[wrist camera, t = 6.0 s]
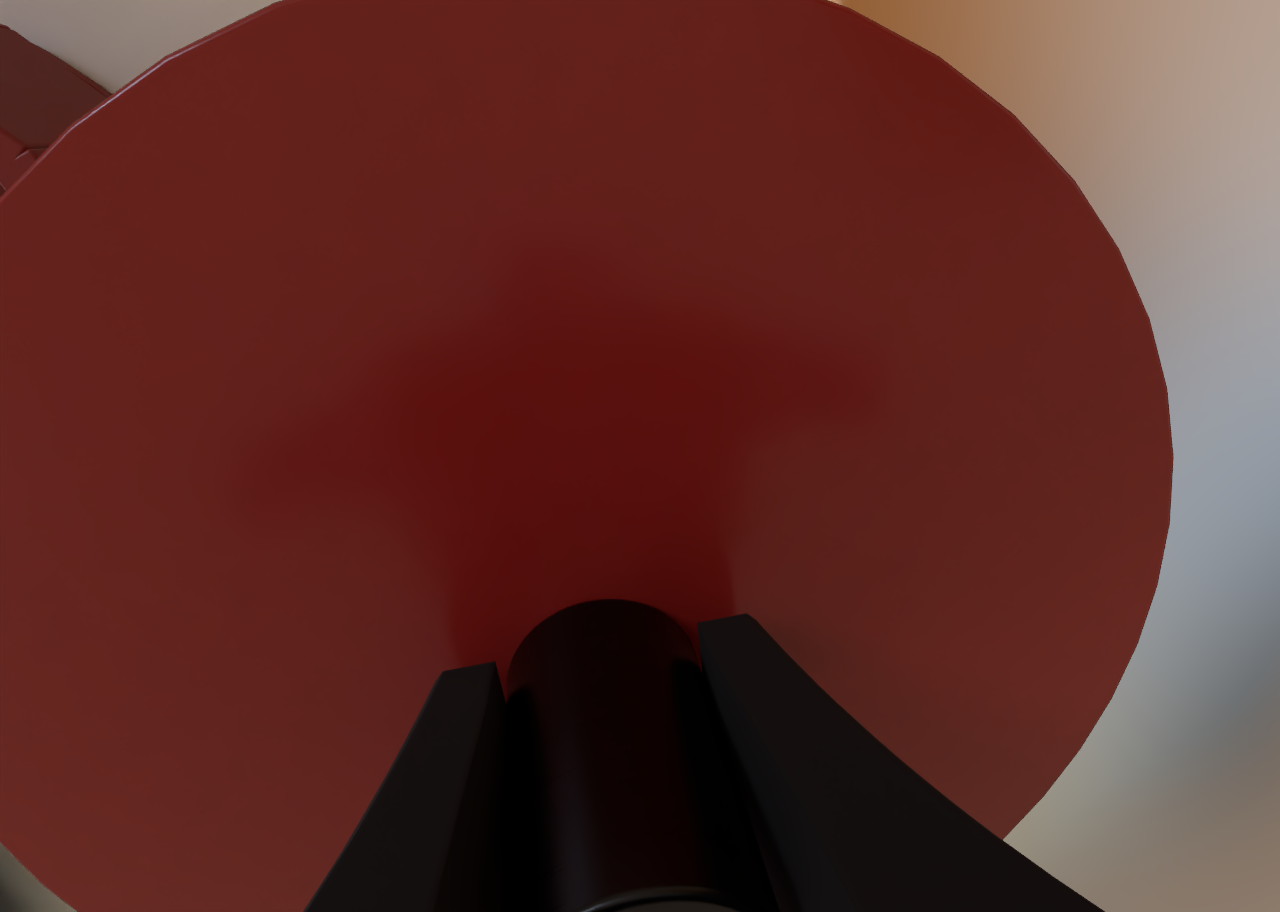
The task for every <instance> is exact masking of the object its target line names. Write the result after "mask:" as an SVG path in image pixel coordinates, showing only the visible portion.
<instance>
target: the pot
mask: <svg viewBox="0 0 1280 912" xmlns="http://www.w3.org/2000/svg"><path fill="white" fill-rule="evenodd" d="M111 95H112V94H111V93H109V92H108V91H107V90H106V89H104V88H103V87H102V86H100V85H99V84H97V83H96V82H94V81H93V80H91V79H89V78H88V77H86V76H85V75H83V74H82V73H80V72H79V71H77V70H76V69H74V68H73V67H71V66H70V65H68V64H67V63H65V62H63V61H62V60H60V59H59V58H57V57H56V56H54V55H53V54H51V53H50V52H48V51H46V50H44V49H42V48H40V47H38V46H36V45H34V44H32V43H30V42H29V41H28V40H26V39H25V38H24V37H22V36H21V35H19V34H18V33H17V32H15V31H13V30H10V28H9V27H7V26H5V25H2V24H0V196H1V195H2V194H3V193H4V192H5V191H6V190H7V189H8V188H9V187H10V186H11V185H12V184H13V183H14V182H15V181H16V180H17V179H18V178H19V177H20V176H21V175H22V174H23V173H24V172H25V171H26V170H27V169H28V168H29V167H30V166H31V165H32V163H33V162H34V161H35V160H36V159H37V158H38V157H39V156H40V155H41V154H42V153H43V152H44V151H45V150H46V149H47V148H48V147H49V146H50V145H51V144H52V143H53V142H54V141H55V140H56V139H57V138H58V137H59V136H60V135H61V134H62V133H63V132H64V131H65V130H66V129H67V128H68V127H69V126H70V125H71V124H72V123H73V122H75V121H76V120H77V119H79V118H80V117H82V116H83V115H84V114H86V113H87V112H89V111H90V110H91V109H93V108H94V107H96V106H97V105H98V104H100V103H101V102H102V101H104V100H105V99H107V98H108V97H109V96H111Z"/></svg>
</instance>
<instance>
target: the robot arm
mask: <svg viewBox="0 0 1280 912" xmlns="http://www.w3.org/2000/svg"><path fill="white" fill-rule="evenodd" d="M697 627H698V636H699V646H700V655H701V665H702V674H703V678H704V681H705V684H706V687H707V690H708V693H709V696H710V699H711V702H712V705H713V708H714V711H715V714H716V718H717V721H718V724H719V727H720V730H721V733H722V736H723V739H724V742H725V745H726V748H727V751H728V754H729V757H730V760H731V763H732V766H733V769H734V773H735V776H736V779H737V782H738V785H739V788H740V791H741V794H742V797H743V800H744V803H745V806H746V809H747V812H748V815H749V818H750V821H751V825H752V828H753V831H754V834H755V837H756V840H757V843H758V846H759V849H760V852H761V855H762V858H763V861H764V864H765V867H766V870H767V873H768V876H769V880H770V883H771V886H772V889H773V892H774V895H775V898H776V901H777V904H778V907H779V910H780V912H1105V911H1103V910H1102V909H1100V908H1099V907H1097V906H1096V905H1094V904H1093V903H1091V902H1090V901H1088V900H1087V899H1085V898H1084V897H1082V896H1081V895H1079V894H1078V893H1077V892H1075V891H1074V890H1072V889H1071V888H1069V887H1068V886H1066V885H1065V884H1063V883H1062V882H1060V881H1059V880H1057V879H1056V878H1054V877H1053V876H1051V875H1050V874H1048V873H1047V872H1046V871H1045V870H1043V869H1042V868H1040V867H1039V866H1038V865H1036V864H1035V863H1033V862H1032V861H1031V860H1029V859H1028V858H1026V857H1025V856H1024V855H1022V854H1021V853H1019V852H1018V851H1017V850H1015V849H1014V848H1013V847H1011V846H1009V845H1008V844H1007V843H1006V842H1004V841H1003V840H1001V839H1000V838H999V837H997V836H996V835H995V834H993V833H992V832H991V831H989V830H988V829H987V828H986V827H984V826H983V825H982V824H980V823H979V822H978V821H976V820H975V819H974V818H972V817H971V816H970V815H969V814H967V813H966V812H965V811H963V810H962V809H961V808H960V807H958V806H957V805H956V804H954V803H953V802H952V801H951V800H949V799H948V798H947V797H946V796H944V795H943V794H942V793H941V792H939V791H938V790H937V789H936V788H935V787H933V786H932V785H931V784H930V783H928V782H927V781H926V780H925V779H924V778H922V777H921V776H920V775H919V774H917V773H916V772H915V771H914V770H913V769H911V768H910V767H909V766H908V765H907V764H905V763H904V762H903V761H902V760H901V759H900V758H898V757H897V756H896V755H895V754H894V753H893V752H891V751H890V750H889V749H888V748H887V747H886V746H884V745H883V744H882V743H881V742H880V741H879V740H878V739H877V738H875V737H874V736H873V735H872V734H871V733H870V732H869V731H868V730H867V729H866V728H864V727H863V726H862V725H861V724H860V723H859V722H858V721H857V720H856V719H854V718H853V717H852V716H851V715H850V714H849V713H848V712H847V711H846V710H845V709H843V708H842V707H841V706H840V705H839V704H838V703H837V702H836V701H835V700H834V699H833V698H832V697H831V696H830V695H829V694H827V693H826V692H825V691H824V690H823V689H822V688H821V687H820V686H819V685H818V684H817V683H816V682H815V681H814V680H813V679H812V678H811V677H810V676H809V675H808V674H807V673H806V672H805V671H804V670H803V669H802V668H801V667H800V666H799V665H798V664H797V663H796V662H795V661H794V660H793V659H792V658H791V657H790V656H789V655H788V654H787V653H786V652H785V651H784V650H783V649H782V647H781V646H780V645H779V644H778V643H777V642H776V641H775V640H774V639H773V638H772V637H771V636H770V635H769V634H768V632H767V631H766V630H765V629H764V628H763V627H762V626H761V625H760V624H759V622H758V621H757V620H756V619H754V618H753V617H751V616H750V615H749V614H747V613H745V614H740V615H735V616H730V617H724V618H719V619H714V620H709V621H703V622H698V623H697ZM505 738H506V701H505V697H504V693H503V689H502V685H501V681H500V677H499V674H498V670H497V666H496V662H495V661H494V662H488V663H483V664H478V665H473V666H467V667H462V668H457V669H452V670H446V671H443V672H442V673H441V674H440V676H439V677H438V678H437V680H436V681H435V683H434V685H433V687H432V689H431V691H430V693H429V695H428V697H427V699H426V701H425V703H424V705H423V707H422V709H421V711H420V713H419V715H418V717H417V719H416V721H415V722H414V724H413V726H412V728H411V730H410V732H409V734H408V736H407V738H406V740H405V742H404V743H403V745H402V747H401V749H400V751H399V753H398V754H397V756H396V758H395V760H394V762H393V764H392V766H391V767H390V769H389V771H388V773H387V775H386V776H385V778H384V780H383V782H382V783H381V785H380V787H379V789H378V790H377V792H376V794H375V795H374V797H373V799H372V801H371V802H370V804H369V806H368V808H367V809H366V811H365V813H364V814H363V816H362V818H361V820H360V821H359V823H358V825H357V827H356V828H355V830H354V832H353V833H352V835H351V837H350V838H349V840H348V842H347V843H346V845H345V847H344V848H343V850H342V852H341V853H340V855H339V857H338V858H337V860H336V861H335V863H334V864H333V866H332V867H331V869H330V871H329V872H328V874H327V875H326V877H325V878H324V880H323V881H322V883H321V885H320V886H319V888H318V889H317V891H316V892H315V894H314V896H313V897H312V899H311V900H310V902H309V903H308V905H307V906H306V908H305V910H304V911H303V912H501V875H502V839H503V802H504V774H505Z"/></svg>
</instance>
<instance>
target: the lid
mask: <svg viewBox="0 0 1280 912" xmlns="http://www.w3.org/2000/svg"><path fill="white" fill-rule="evenodd" d="M1172 473H1173V448H1172V437H1171V426H1170V415H1169V404H1168V393H1167V386H1166V382H1165V378H1164V375H1163V371H1162V367H1161V363H1160V359H1159V355H1158V351H1157V347H1156V343H1155V339H1154V335H1153V331H1152V327H1151V323H1150V319H1149V317H1148V315H1147V313H1146V310H1145V308H1144V305H1143V303H1142V301H1141V298H1140V296H1139V294H1138V291H1137V289H1136V287H1135V285H1134V282H1133V280H1132V278H1131V275H1130V273H1129V271H1128V269H1127V266H1126V264H1125V262H1124V259H1123V257H1122V255H1121V253H1120V250H1119V248H1118V247H1117V245H1116V244H1115V242H1114V240H1113V239H1112V237H1111V236H1110V234H1109V233H1108V231H1107V230H1106V228H1105V227H1104V225H1103V224H1102V222H1101V221H1100V219H1099V217H1098V216H1097V215H1096V213H1095V211H1094V210H1093V208H1092V207H1091V205H1090V204H1089V202H1088V200H1087V199H1086V197H1085V196H1084V194H1083V193H1082V191H1081V190H1080V188H1079V187H1078V185H1077V184H1076V182H1075V181H1074V180H1073V178H1072V177H1071V176H1070V175H1069V174H1068V173H1067V172H1066V171H1065V170H1064V168H1063V167H1062V166H1061V165H1060V164H1059V163H1058V162H1057V161H1056V160H1055V159H1054V158H1053V157H1052V155H1050V153H1049V152H1048V151H1047V150H1046V149H1045V148H1044V147H1043V146H1042V145H1041V144H1040V142H1038V140H1037V139H1036V138H1035V137H1034V136H1033V135H1032V134H1031V133H1030V132H1029V130H1028V129H1027V128H1026V127H1025V126H1024V125H1023V124H1022V123H1021V122H1020V121H1019V120H1018V118H1016V116H1015V115H1014V114H1012V113H1011V112H1010V111H1009V110H1007V109H1006V108H1005V107H1004V106H1002V105H1001V104H1000V103H998V102H997V101H996V100H995V99H993V98H992V97H990V96H989V95H988V94H987V93H986V92H984V91H983V90H982V89H980V88H979V87H978V86H976V85H975V84H974V83H973V82H971V81H970V80H969V79H967V78H966V77H965V76H963V75H962V74H961V73H960V72H958V71H957V70H956V69H955V68H953V67H952V66H951V65H949V64H948V63H947V62H945V61H944V60H943V59H942V58H940V57H939V56H937V55H935V54H933V53H931V52H930V51H928V50H926V49H924V48H922V47H921V46H919V45H917V44H915V43H913V42H911V41H910V40H908V39H906V38H904V37H902V36H900V35H898V34H897V33H895V32H893V31H891V30H889V29H887V28H885V27H884V26H882V25H880V24H878V23H876V22H874V21H872V20H870V19H869V18H867V17H865V16H863V15H861V14H859V13H858V12H856V11H854V10H852V9H850V8H848V7H845V6H842V5H839V4H836V3H833V2H830V1H828V0H282V1H278V2H275V3H273V4H271V5H269V6H267V7H265V8H263V9H261V10H258V11H256V12H254V13H252V14H250V15H248V16H246V17H244V18H242V19H240V20H238V21H236V22H234V23H232V24H230V25H228V26H226V27H224V28H222V29H220V30H218V31H216V32H214V33H212V34H210V35H208V36H206V37H204V38H201V39H199V40H197V41H195V42H193V43H191V44H189V45H187V46H185V47H183V48H181V49H179V50H177V51H175V52H173V53H171V54H169V55H167V56H165V57H164V58H162V59H161V60H160V61H158V62H157V63H155V64H154V65H153V66H151V67H150V68H148V69H147V70H146V71H144V72H143V73H141V74H140V75H139V76H137V77H136V78H134V79H133V80H132V81H130V82H129V83H128V84H126V85H125V86H123V87H122V88H121V89H119V90H118V91H116V92H115V93H114V94H112V95H111V96H109V97H108V98H107V99H105V100H104V101H102V102H101V103H100V104H98V105H97V106H96V107H94V108H93V109H91V110H90V111H89V112H87V113H86V114H84V115H83V116H82V117H80V118H79V119H77V120H76V121H75V122H73V123H72V124H71V125H70V126H69V127H68V128H67V129H66V130H65V131H64V132H63V133H62V134H61V135H60V136H59V137H58V138H57V139H56V140H55V141H54V142H53V143H52V144H51V145H50V146H49V147H48V148H47V149H46V150H45V151H44V152H43V153H42V154H41V155H40V156H39V157H38V158H37V159H36V160H35V161H34V162H33V163H32V165H31V166H30V167H29V168H28V169H27V170H26V171H25V172H24V173H23V174H22V175H21V176H20V177H19V178H18V179H17V180H16V181H15V182H14V183H13V184H12V185H11V186H10V187H9V188H8V189H7V190H6V191H5V192H4V193H3V194H2V195H1V196H0V844H1V845H3V846H4V847H5V848H6V849H7V850H8V851H9V852H10V853H11V854H12V855H13V856H14V857H15V858H16V859H17V860H18V861H19V862H20V863H21V864H22V865H23V866H24V867H25V868H26V869H27V870H28V871H29V872H30V873H31V874H32V875H33V876H34V877H35V878H36V879H37V880H38V881H39V882H40V883H41V884H42V885H43V886H44V887H46V888H47V889H48V890H50V891H51V892H52V893H54V894H55V895H56V896H57V897H59V898H60V899H61V900H63V901H64V902H65V903H67V904H68V905H69V906H71V907H72V908H73V909H75V910H76V911H77V912H303V911H304V910H305V908H306V906H307V905H308V903H309V902H310V900H311V899H312V897H313V896H314V894H315V892H316V891H317V889H318V888H319V886H320V885H321V883H322V881H323V880H324V878H325V877H326V875H327V874H328V872H329V871H330V869H331V867H332V866H333V864H334V863H335V861H336V860H337V858H338V857H339V855H340V853H341V852H342V850H343V848H344V847H345V845H346V843H347V842H348V840H349V838H350V837H351V835H352V833H353V832H354V830H355V828H356V827H357V825H358V823H359V821H360V820H361V818H362V816H363V814H364V813H365V811H366V809H367V808H368V806H369V804H370V802H371V801H372V799H373V797H374V795H375V794H376V792H377V790H378V789H379V787H380V785H381V783H382V782H383V780H384V778H385V776H386V775H387V773H388V771H389V769H390V767H391V766H392V764H393V762H394V760H395V758H396V756H397V754H398V753H399V751H400V749H401V747H402V745H403V743H404V742H405V740H406V738H407V736H408V734H409V732H410V730H411V728H412V726H413V724H414V722H415V721H416V719H417V717H418V715H419V713H420V711H421V709H422V707H423V705H424V703H425V701H426V699H427V697H428V695H429V693H430V691H431V689H432V687H433V685H434V683H435V681H436V680H437V678H438V677H439V676H440V674H441V673H442V672H443V671H446V670H452V669H457V668H462V667H467V666H473V665H478V664H483V663H488V662H494V661H495V662H496V666H497V670H498V674H499V677H500V681H501V685H502V689H503V693H504V697H505V701H506V738H505V774H504V802H503V839H502V875H501V912H780V910H779V907H778V904H777V901H776V898H775V895H774V892H773V889H772V886H771V883H770V880H769V876H768V873H767V870H766V867H765V864H764V861H763V858H762V855H761V852H760V849H759V846H758V843H757V840H756V837H755V834H754V831H753V828H752V825H751V821H750V818H749V815H748V812H747V809H746V806H745V803H744V800H743V797H742V794H741V791H740V788H739V785H738V782H737V779H736V776H735V773H734V769H733V766H732V763H731V760H730V757H729V754H728V751H727V748H726V745H725V742H724V739H723V736H722V733H721V730H720V727H719V724H718V721H717V718H716V714H715V711H714V708H713V705H712V702H711V699H710V696H709V693H708V690H707V687H706V684H705V681H704V678H703V674H702V665H701V655H700V646H699V636H698V627H697V623H698V622H703V621H709V620H714V619H719V618H724V617H730V616H735V615H740V614H745V613H747V614H749V615H750V616H751V617H753V618H754V619H756V620H757V621H758V622H759V624H760V625H761V626H762V627H763V628H764V629H765V630H766V631H767V632H768V634H769V635H770V636H771V637H772V638H773V639H774V640H775V641H776V642H777V643H778V644H779V645H780V646H781V647H782V649H783V650H784V651H785V652H786V653H787V654H788V655H789V656H790V657H791V658H792V659H793V660H794V661H795V662H796V663H797V664H798V665H799V666H800V667H801V668H802V669H803V670H804V671H805V672H806V673H807V674H808V675H809V676H810V677H811V678H812V679H813V680H814V681H815V682H816V683H817V684H818V685H819V686H820V687H821V688H822V689H823V690H824V691H825V692H826V693H827V694H829V695H830V696H831V697H832V698H833V699H834V700H835V701H836V702H837V703H838V704H839V705H840V706H841V707H842V708H843V709H845V710H846V711H847V712H848V713H849V714H850V715H851V716H852V717H853V718H854V719H856V720H857V721H858V722H859V723H860V724H861V725H862V726H863V727H864V728H866V729H867V730H868V731H869V732H870V733H871V734H872V735H873V736H874V737H875V738H877V739H878V740H879V741H880V742H881V743H882V744H883V745H884V746H886V747H887V748H888V749H889V750H890V751H891V752H893V753H894V754H895V755H896V756H897V757H898V758H900V759H901V760H902V761H903V762H904V763H905V764H907V765H908V766H909V767H910V768H911V769H913V770H914V771H915V772H916V773H917V774H919V775H920V776H921V777H922V778H924V779H925V780H926V781H927V782H928V783H930V784H931V785H932V786H933V787H935V788H936V789H937V790H938V791H939V792H941V793H942V794H943V795H944V796H946V797H947V798H948V799H949V800H951V801H952V802H953V803H954V804H956V805H957V806H958V807H960V808H961V809H962V810H963V811H965V812H966V813H967V814H969V815H970V816H971V817H972V818H974V819H975V820H976V821H978V822H979V823H980V824H982V825H983V826H984V827H986V828H987V829H988V830H989V831H991V832H992V833H993V834H995V835H996V836H997V837H999V838H1000V839H1001V840H1003V839H1004V838H1005V837H1006V836H1007V835H1008V834H1009V833H1010V831H1011V830H1012V829H1013V828H1014V827H1015V826H1016V825H1017V824H1018V823H1019V822H1020V821H1021V820H1022V819H1023V818H1024V817H1025V815H1026V814H1027V813H1028V812H1029V811H1030V810H1031V809H1032V808H1033V807H1034V806H1035V805H1036V804H1037V803H1038V802H1039V801H1040V800H1041V799H1042V798H1043V797H1044V795H1045V794H1046V793H1047V791H1048V790H1049V789H1050V787H1051V786H1052V785H1053V784H1054V782H1055V781H1056V780H1057V778H1058V777H1059V776H1060V775H1061V773H1062V772H1063V771H1064V769H1065V768H1066V767H1067V766H1068V764H1069V763H1070V762H1071V760H1072V759H1073V758H1074V757H1075V755H1076V754H1077V753H1078V751H1079V750H1080V749H1081V747H1082V745H1083V744H1084V742H1085V741H1086V739H1087V737H1088V736H1089V734H1090V733H1091V731H1092V729H1093V728H1094V726H1095V725H1096V723H1097V721H1098V720H1099V718H1100V716H1101V715H1102V713H1103V711H1104V710H1105V708H1106V707H1107V705H1108V704H1109V702H1110V700H1111V699H1112V697H1113V694H1114V692H1115V690H1116V688H1117V686H1118V684H1119V682H1120V680H1121V678H1122V676H1123V674H1124V671H1125V669H1126V667H1127V665H1128V663H1129V661H1130V659H1131V657H1132V655H1133V653H1134V650H1135V648H1136V646H1137V644H1138V641H1139V638H1140V635H1141V632H1142V629H1143V626H1144V623H1145V620H1146V617H1147V614H1148V611H1149V609H1150V605H1151V603H1152V600H1153V596H1154V594H1155V591H1156V588H1157V584H1158V579H1159V574H1160V569H1161V564H1162V559H1163V554H1164V549H1165V544H1166V539H1167V534H1168V529H1169V524H1170V507H1171V489H1172Z"/></svg>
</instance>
